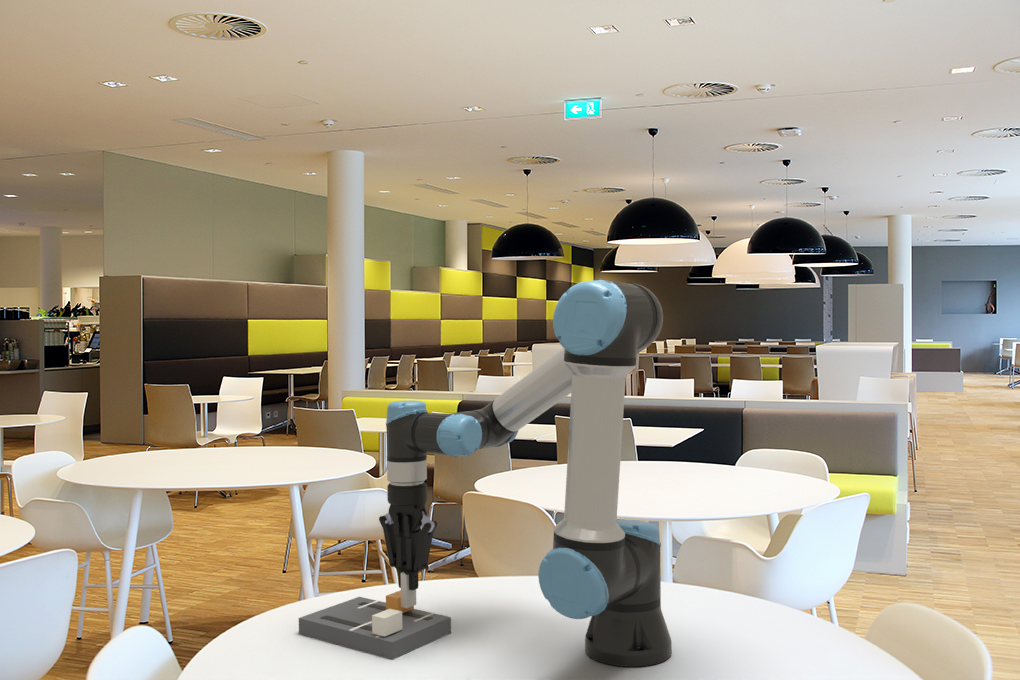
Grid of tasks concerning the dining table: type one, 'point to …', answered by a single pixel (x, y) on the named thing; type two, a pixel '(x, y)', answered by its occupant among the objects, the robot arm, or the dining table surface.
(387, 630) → the fader cream
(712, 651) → the dining table surface
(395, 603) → the fader orange
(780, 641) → the dining table surface
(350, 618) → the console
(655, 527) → the robot arm
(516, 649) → the dining table surface
